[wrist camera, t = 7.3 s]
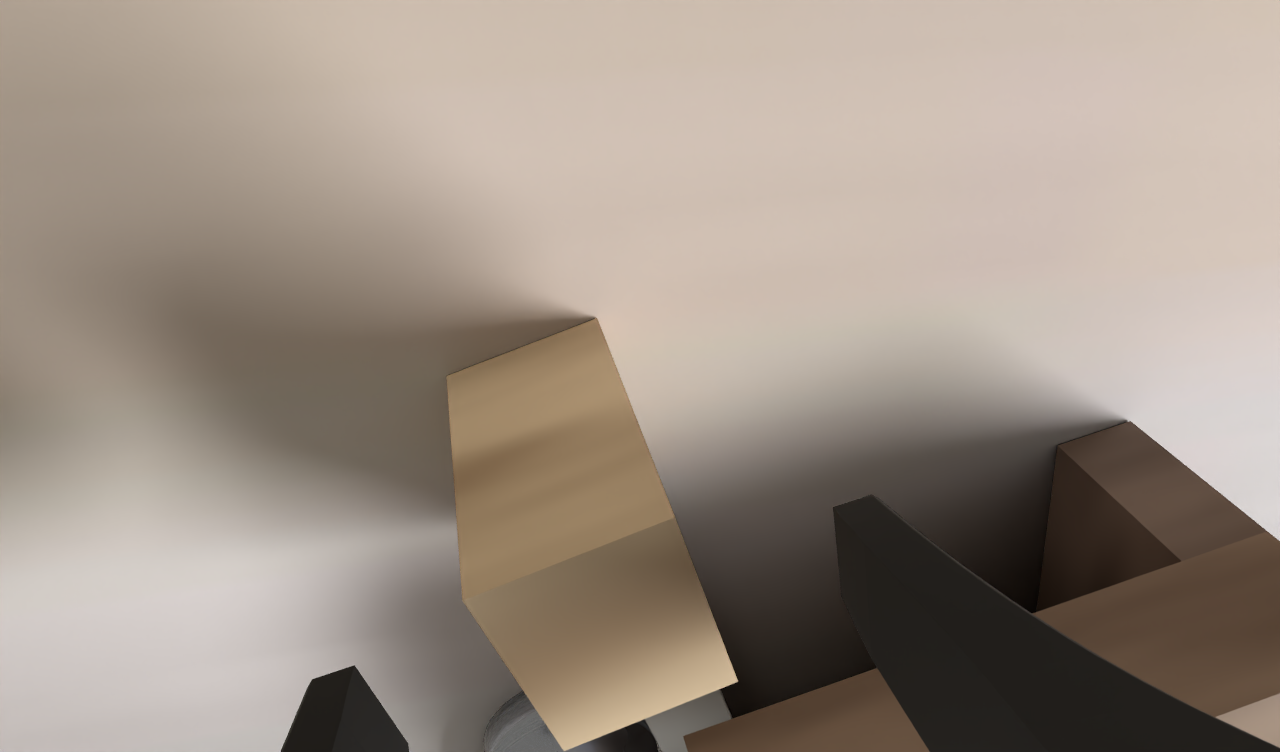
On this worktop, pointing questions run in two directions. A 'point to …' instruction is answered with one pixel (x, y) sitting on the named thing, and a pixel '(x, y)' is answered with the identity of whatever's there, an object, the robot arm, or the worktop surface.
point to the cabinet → (1100, 604)
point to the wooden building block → (579, 547)
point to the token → (529, 748)
